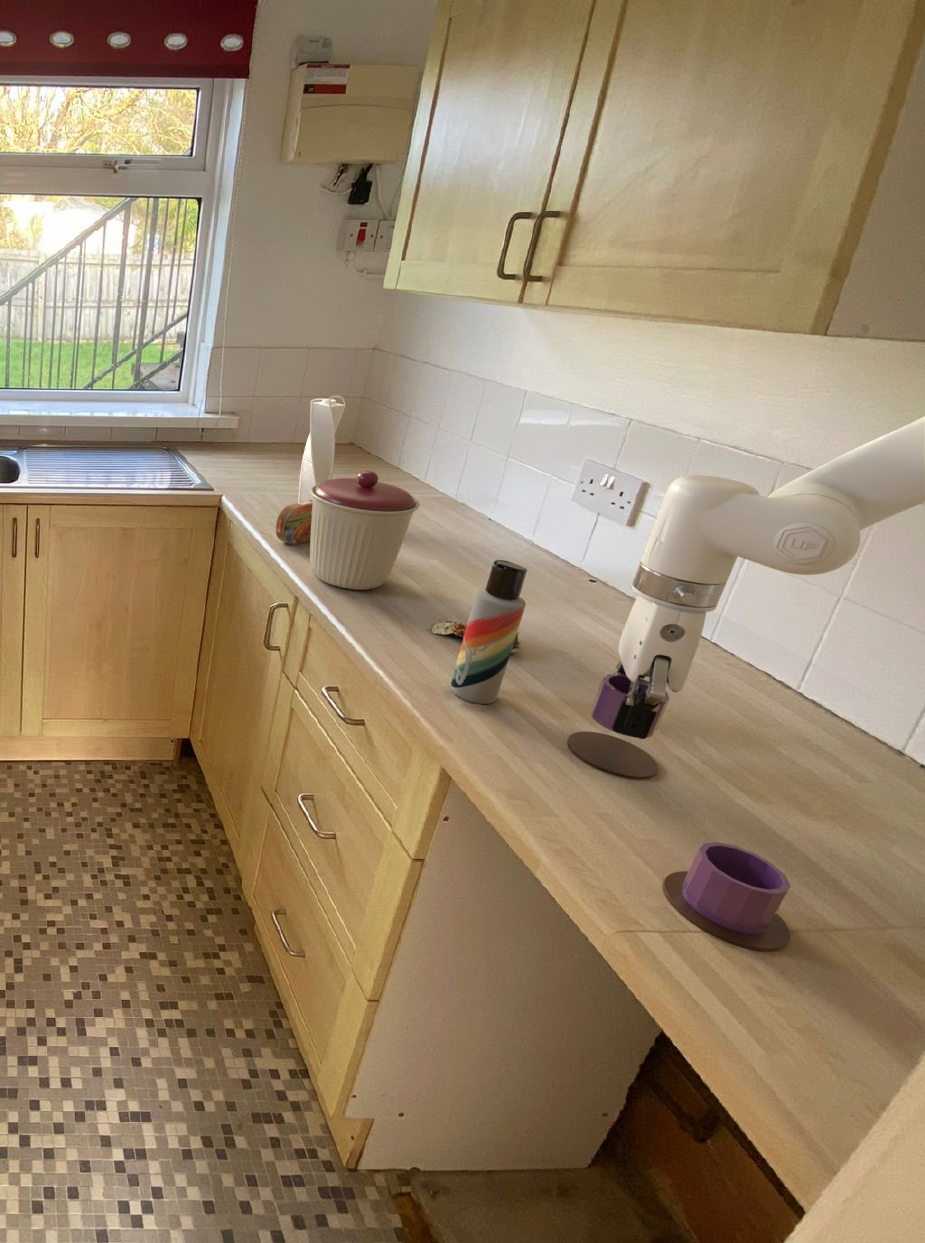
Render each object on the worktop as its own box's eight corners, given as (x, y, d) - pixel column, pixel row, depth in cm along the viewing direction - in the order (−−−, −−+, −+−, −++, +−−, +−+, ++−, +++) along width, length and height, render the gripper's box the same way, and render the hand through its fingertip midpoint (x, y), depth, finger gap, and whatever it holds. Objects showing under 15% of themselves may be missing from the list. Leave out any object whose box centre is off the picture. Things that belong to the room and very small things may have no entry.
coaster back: (650, 748, 96) (651, 745, 96) (663, 789, 89) (665, 786, 88) (564, 726, 100) (564, 723, 100) (570, 763, 93) (571, 760, 93)
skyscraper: (330, 519, 175) (353, 397, 164) (293, 515, 177) (314, 394, 166) (326, 507, 182) (348, 390, 172) (291, 504, 184) (310, 388, 174)
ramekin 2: (756, 898, 73) (777, 858, 71) (777, 946, 68) (800, 904, 66) (675, 872, 76) (692, 833, 74) (688, 916, 71) (708, 875, 69)
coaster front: (771, 898, 74) (773, 895, 74) (803, 968, 66) (805, 965, 66) (654, 861, 78) (656, 858, 78) (672, 923, 71) (673, 920, 71)
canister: (351, 556, 154) (372, 455, 146) (422, 593, 138) (450, 481, 130) (276, 565, 149) (293, 461, 141) (340, 605, 133) (364, 489, 125)
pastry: (435, 622, 127) (440, 602, 126) (519, 644, 121) (526, 624, 119) (427, 637, 122) (433, 617, 121) (515, 661, 115) (522, 641, 114)
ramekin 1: (649, 717, 94) (663, 683, 92) (658, 744, 89) (674, 708, 87) (587, 702, 97) (600, 668, 95) (593, 727, 91) (607, 692, 90)
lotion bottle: (440, 686, 108) (475, 557, 101) (470, 680, 110) (507, 552, 103) (474, 707, 103) (514, 573, 96) (505, 701, 105) (547, 569, 98)
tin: (282, 548, 157) (288, 509, 154) (270, 543, 160) (276, 505, 157) (329, 536, 164) (336, 499, 161) (317, 531, 167) (324, 495, 164)
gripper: (741, 624, 77) (677, 768, 84) (701, 567, 91) (649, 695, 98) (648, 606, 80) (594, 746, 87) (623, 554, 94) (578, 678, 101)
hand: (624, 718), depth 92 cm, fingers closed on ramekin 1, 6 cm apart
